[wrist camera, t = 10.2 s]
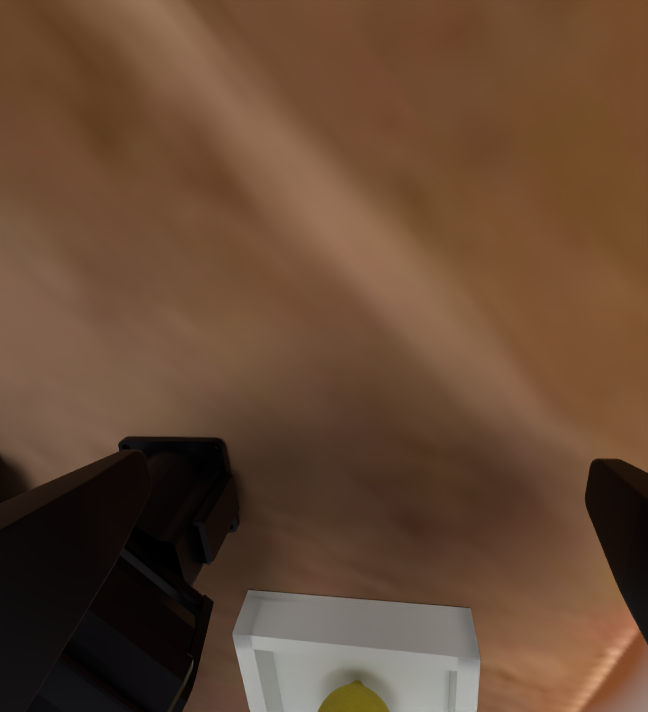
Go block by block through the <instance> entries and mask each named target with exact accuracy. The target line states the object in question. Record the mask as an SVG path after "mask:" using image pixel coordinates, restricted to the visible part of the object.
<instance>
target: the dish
mask: <svg viewBox="0 0 648 712" xmlns="http://www.w3.org/2000/svg"><path fill="white" fill-rule="evenodd" d="M232 636H233V640H234V644H235V649H236V653H237V657H238V661H239V666H240V670H241V674H242V679H243V683H244V687H245V691H246V696H247V700H248V704H249V709H250V712H318V710H319V708H320V706H321V704H322V703H323V701H324V700H325V699H326V698H327V696H328V695H329V694H330V693H331V692H333V691H334V690H335V689H337V688H339V687H341V686H344V685H348V684H351V683H352V682H353V681H355V680H358V681H360V682H361V683H362V684H363V685H364V686H365V687H367V688H369V689H371V690H372V691H374V692H375V693H376V694H377V695H378V696H379V697H380V698H381V699H382V700H383V701H384V703H385V704H386V706H387V707H388V709H389V711H390V712H477V701H478V688H479V674H480V661H481V659H480V653H479V648H478V643H477V638H476V633H475V628H474V623H473V617H472V612H471V608H463V607H451V606H439V605H426V604H414V603H402V602H390V601H377V600H365V599H353V598H341V597H329V596H316V595H304V594H292V593H280V592H267V591H255V590H248V592H247V595H246V597H245V600H244V603H243V605H242V608H241V611H240V614H239V616H238V619H237V622H236V624H235V627H234V630H233V632H232Z"/></svg>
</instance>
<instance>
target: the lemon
mask: <svg viewBox="0 0 648 712" xmlns="http://www.w3.org/2000/svg"><path fill="white" fill-rule="evenodd" d="M318 712H390V711H389V709H388V707H387V706H386V704H385V703H384V701H383V700H382V699H381V698H380V697H379V696H378V695H377V694H376V693H375V692H374V691H372V690H371V689H369V688H367V687H365V686H364V685H363V684H362V683H361V682H360V681H358V680H355V681H353V682H352V683H351V684H348V685H344V686H341V687H339V688H337V689H335V690H334V691H333V692H331V693H330V694H329V695H328V696H327V698H326V699H325V700H324V701H323V703H322V704H321V706H320V708H319V710H318Z"/></svg>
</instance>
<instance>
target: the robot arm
mask: <svg viewBox="0 0 648 712" xmlns="http://www.w3.org/2000/svg"><path fill="white" fill-rule="evenodd" d="M127 445H128V446H129V447H128V446H127ZM213 446H216V447H217V449H215V448H213ZM118 447H119V452H116V453H114V454H112V455H110V456H107V457H105V458H103V459H100V460H98V461H96V462H94V463H91V464H89V465H87V466H84V467H82V468H80V469H78V470H75V471H73V472H71V473H68V474H66V475H64V476H61V477H59V478H57V479H55V480H52V481H50V482H48V483H45V484H43V485H41V486H39V487H36V488H34V489H32V490H29V491H27V492H25V493H22V494H20V495H18V496H16V497H13V498H11V499H9V500H6V501H4V502H2V503H0V712H182V710H183V708H184V706H185V705H186V703H187V700H188V698H189V695H190V693H191V691H192V688H193V685H194V681H195V678H196V674H197V670H198V666H199V662H200V658H201V653H202V649H203V645H204V641H205V637H206V632H207V628H208V624H209V620H210V616H211V611H212V607H213V603H214V602H213V601H212V600H211V599H210V598H209V597H207V596H206V595H202V594H200V593H199V592H198V591H197V590H195V589H194V588H193V587H192V586H193V584H194V582H195V580H196V578H197V576H198V574H199V572H200V570H201V568H202V567H203V565H210V564H211V563H212V562H213V561H214V559H215V557H216V555H217V553H218V551H219V549H220V547H221V545H222V543H223V541H224V539H225V537H226V535H227V533H228V532H235V531H236V530H237V528H238V526H239V523H240V522H239V516H238V511H239V504H238V499H237V493H236V488H235V483H234V478H233V475H232V474H231V472H230V471H229V466H228V461H227V456H226V450H225V445H224V443H223V442H222V441H221V440H220V439H218V438H180V437H125V438H124V439H123V440H122V441H120V442H119V444H118ZM585 503H586V508H587V511H588V513H589V516H590V518H591V521H592V523H593V526H594V528H595V531H596V533H597V536H598V538H599V541H600V543H601V546H602V548H603V551H604V553H605V556H606V558H607V561H608V563H609V566H610V568H611V571H612V573H613V576H614V578H615V581H616V583H617V585H618V588H619V590H620V592H621V594H622V596H623V598H624V600H625V602H626V604H627V606H628V608H629V610H630V612H631V614H632V616H633V618H634V620H635V622H636V624H637V625H638V627H639V629H640V631H641V633H642V635H643V637H644V639H645V641H646V642H647V644H648V473H647V472H645V471H643V470H641V469H639V468H637V467H635V466H633V465H631V464H629V463H627V462H625V461H623V460H620V459H595V460H593V461H592V463H591V465H590V470H589V475H588V481H587V487H586V493H585ZM232 524H233V525H232Z"/></svg>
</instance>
